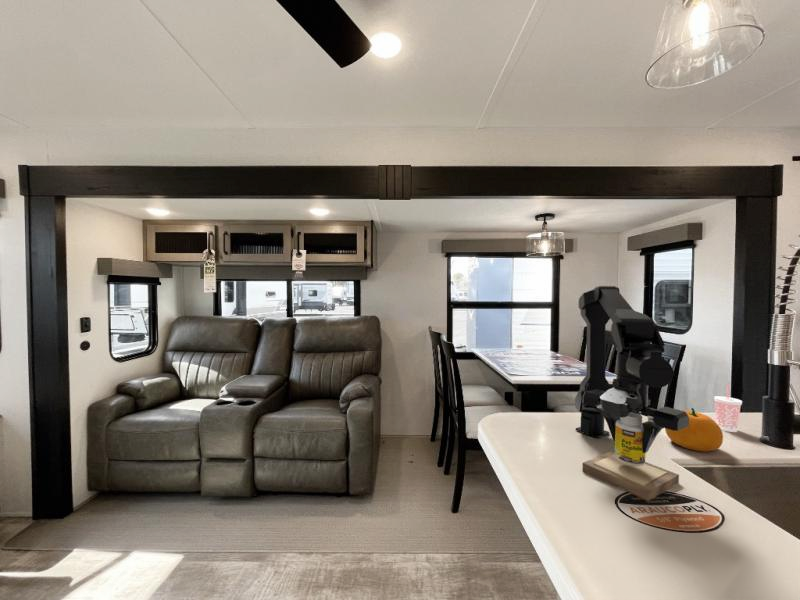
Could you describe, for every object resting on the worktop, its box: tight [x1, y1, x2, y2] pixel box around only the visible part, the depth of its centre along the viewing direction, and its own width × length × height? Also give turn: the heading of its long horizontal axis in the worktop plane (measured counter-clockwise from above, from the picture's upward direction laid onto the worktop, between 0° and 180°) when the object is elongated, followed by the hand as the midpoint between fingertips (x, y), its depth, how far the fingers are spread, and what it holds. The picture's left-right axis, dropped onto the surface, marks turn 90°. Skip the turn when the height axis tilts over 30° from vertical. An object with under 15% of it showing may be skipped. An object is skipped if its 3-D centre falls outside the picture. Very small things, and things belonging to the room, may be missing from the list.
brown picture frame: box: [582, 449, 680, 502], centre depth 75 cm, size 13×13×2 cm
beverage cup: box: [713, 381, 743, 433], centre depth 104 cm, size 6×6×14 cm
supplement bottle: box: [614, 412, 646, 466], centre depth 75 cm, size 6×6×10 cm
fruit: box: [664, 407, 724, 452], centre depth 91 cm, size 12×12×10 cm
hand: (629, 447), depth 75 cm, fingers closed on supplement bottle, 5 cm apart
